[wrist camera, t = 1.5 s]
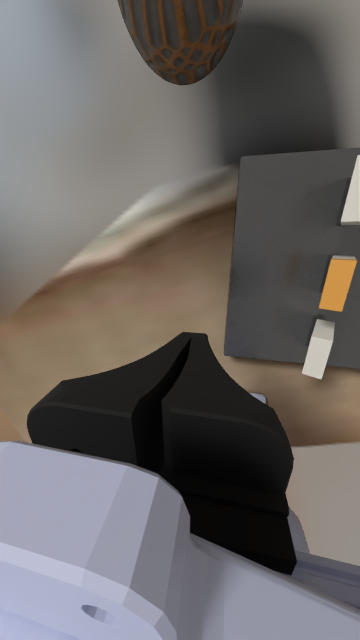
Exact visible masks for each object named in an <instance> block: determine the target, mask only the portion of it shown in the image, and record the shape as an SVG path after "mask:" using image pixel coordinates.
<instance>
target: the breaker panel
mask: <svg viewBox="0 0 360 640" xmlns="http://www.w3.org/2000/svg"><path fill="white" fill-rule="evenodd" d="M358 155H360V148H349V149H336V150H322V151H310V152H309V151H308V152H295V153H281V154H269V155H268V154H267V155H255V156H241V160H240V165H239V175H238V187H237V198H236V210H235V222H234V234H233V246H232V257H231V269H230V281H229V293H228V305H227V317H226V328H225V340H224V356H234V357H244V358H255V359H265V360H275V361H285V362H295V363H305V360H306V356H307V352H308V348H309V344H310V340H311V336H312V333H313V330H314V327H315V324H316V321H317V319H320V320H325V321H331V322H335V326H334V336H333V343H332V346H331V350H330V353H329V356H328V360H327V363H326V366H336V367H346V368H356V369H360V225H341V218H342V214H343V210H344V207H345V203H346V199H347V195H348V191H349V187H350V183H351V179H352V175H353V171H354V167H355V163H356V159H357V156H358ZM333 255H337V256H354V257H355V258H356V260H357V263H356V266H355V270H354V273H353V276H352V280H351V283H350V286H349V290H348V293H347V296H346V300H345V303H344V306H343V310H342V312H340V311H334V310H327V309H321V308H319V305H320V301H321V297H322V293H323V289H324V285H325V281H326V277H327V273H328V269H329V265H330V262H331V259H332V257H333Z"/></svg>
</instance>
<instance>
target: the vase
mask: <svg viewBox="0 0 360 640" xmlns="http://www.w3.org/2000/svg"><path fill="white" fill-rule="evenodd" d="M118 3H119V7H120V10H121V13H122V16H123V19H124V22H125V24H126V27H127V29H128V32H129V34H130V36H131V38H132V40H133V42H134V44H135V46H136V48H137V50H138V51H139V53H140V55H141V56H142V58H143V59H144V60H145V62H146V63H147V64H148V66H149V67H150V68H151V69H152V70H153V71H154V72H155V73H156V74H157V75H159V76H160V77H161V78H163V79H164V80H166V81H168V82H171V83H173V84H177V85H189V84H193V83H196V82H198V81H199V80H201V79H203V78H204V77H206V76H207V75H208V74H209V73H210V72H211V71H212V70H213V69H214V68H215V67H216V65H217V64H218V63H219V61H220V60H221V58H222V57H223V55H224V53H225V52H226V49H227V48H228V46H229V44H230V41H231V39H232V36H233V34H234V31H235V28H236V25H237V22H238V19H239V15H240V12H241V7H242V3H243V0H118Z"/></svg>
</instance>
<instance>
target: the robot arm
mask: <svg viewBox="0 0 360 640" xmlns="http://www.w3.org/2000/svg"><path fill="white" fill-rule="evenodd" d="M265 403H266V397H265V396H264V395H262V394H256V393H248V392H247V391H246V390H244V389H243V388H242V387H241V386H239V385H238V384H237V383H236V382H235V381H234V380H233V379H232V378H231V377H230V376H229V375H228V374H227V373H226V371H225V370H224V369H223V368H222V366H221V365H220V363H219V362H218V360H217V359H216V357H215V355H214V353H213V351H212V349H211V347H210V345H209V342H208V336H207V335H206V334H203V333H190V332H182V333H181V334H179V335H178V336H177V337H175V338H174V339H173V340H171V341H170V342H168V343H167V344H166V345H164V346H162V347H161V348H159V349H158V350H156V351H154V352H153V353H151V354H149V355H147V356H145V357H143V358H141V359H139V360H137V361H135V362H132V363H130V364H127V365H124V366H122V367H119V368H116V369H113V370H109V371H106V372H102V373H99V374H95V375H90V376H85V377H80V378H75V379H70V380H63V381H61V382H60V383H59V384H58V385H57V386H56V387H55V388H54V389H53V390H51V391H50V392H49V393H48V394H47V395H46V396H45V397H44V398H43V399H42V400H40V401H39V402H38V403H37V404H36V405H35V406H34V407H33V408H32V409H31V410H30V412H29V414H28V417H27V428H28V432H29V435H30V438H31V440H32V443H33V444H32V443H27V442H21V441H0V640H360V566H356V565H352V564H348V563H344V562H340V561H335V560H332V559H328V558H324V557H320V556H316V555H311V554H310V553H309V549H308V545H307V542H306V538H305V535H304V532H303V529H302V526H301V523H300V521H299V519H298V517H297V516H296V515H295V514H294V513H293V511H292V510H290V507H289V506H288V502H287V498H286V494H285V492H286V489H287V486H288V482H289V479H290V476H291V473H292V469H293V460H294V458H293V454H292V450H291V447H290V443H289V441H288V438H287V436H286V433H285V431H284V429H283V427H282V425H281V423H280V421H279V419H278V417H277V415H276V413H275V411H274V409H273V408H271V407H269V406H268V405H266V404H265Z"/></svg>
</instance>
